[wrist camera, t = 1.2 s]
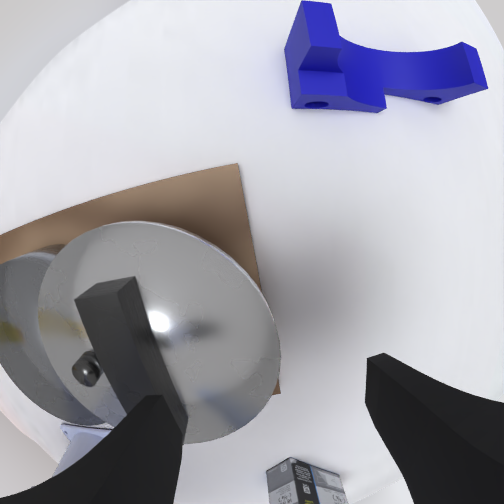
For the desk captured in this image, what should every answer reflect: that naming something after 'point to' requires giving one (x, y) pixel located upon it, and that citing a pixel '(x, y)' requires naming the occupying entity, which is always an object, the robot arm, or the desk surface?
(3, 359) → the grey dish and cube
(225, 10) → the desk surface
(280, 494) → the grey blue carton
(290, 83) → the cable clip
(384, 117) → the desk surface
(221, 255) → the lid
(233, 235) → the walnut board
